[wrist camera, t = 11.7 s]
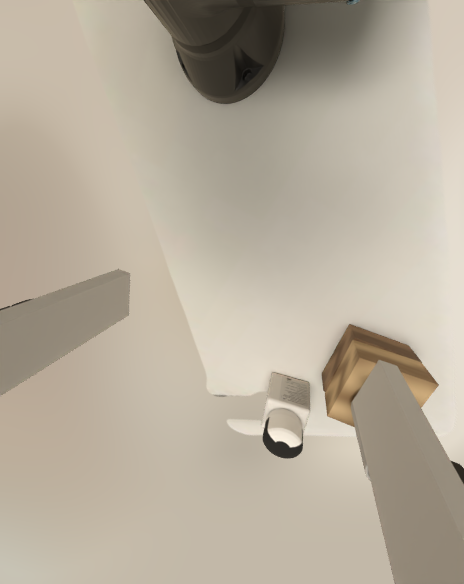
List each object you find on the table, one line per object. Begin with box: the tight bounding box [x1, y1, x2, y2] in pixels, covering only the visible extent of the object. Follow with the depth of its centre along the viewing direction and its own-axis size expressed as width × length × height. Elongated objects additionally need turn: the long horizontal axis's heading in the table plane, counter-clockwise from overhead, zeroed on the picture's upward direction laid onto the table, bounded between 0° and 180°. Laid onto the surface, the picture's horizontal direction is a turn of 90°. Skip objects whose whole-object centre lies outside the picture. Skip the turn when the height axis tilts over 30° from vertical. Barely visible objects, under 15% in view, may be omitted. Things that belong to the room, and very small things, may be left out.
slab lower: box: [322, 324, 422, 392], centre depth 40 cm, size 12×10×5 cm
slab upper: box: [325, 340, 438, 427], centre depth 35 cm, size 12×10×5 cm
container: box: [261, 373, 310, 458], centre depth 43 cm, size 8×8×13 cm
